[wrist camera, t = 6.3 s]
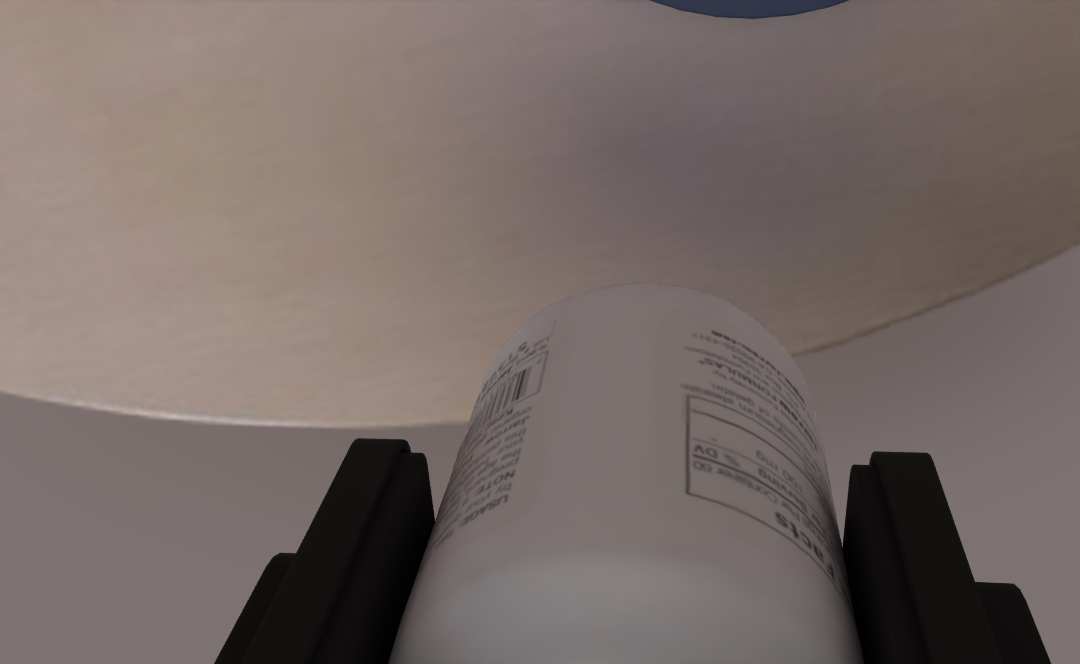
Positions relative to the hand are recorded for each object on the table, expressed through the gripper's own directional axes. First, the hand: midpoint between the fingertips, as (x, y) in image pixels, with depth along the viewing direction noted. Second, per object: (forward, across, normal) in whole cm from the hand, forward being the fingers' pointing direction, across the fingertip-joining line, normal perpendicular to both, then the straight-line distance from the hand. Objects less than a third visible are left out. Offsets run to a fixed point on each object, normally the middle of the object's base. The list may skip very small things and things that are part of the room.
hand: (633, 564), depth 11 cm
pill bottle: (+3, 0, 0) cm, 3 cm away
